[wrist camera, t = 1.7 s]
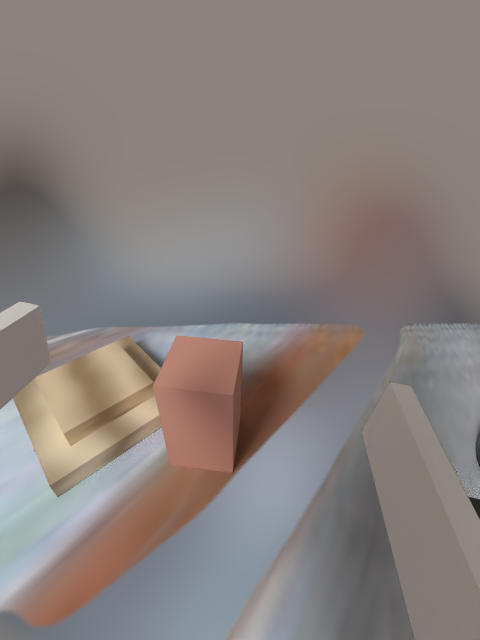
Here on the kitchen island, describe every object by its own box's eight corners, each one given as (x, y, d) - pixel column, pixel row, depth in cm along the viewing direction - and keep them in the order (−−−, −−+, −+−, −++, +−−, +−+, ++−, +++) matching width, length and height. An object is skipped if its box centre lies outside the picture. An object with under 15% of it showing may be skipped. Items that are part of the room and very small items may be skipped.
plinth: (131, 347, 42) (125, 324, 40) (190, 407, 34) (187, 383, 32) (17, 401, 34) (1, 376, 32) (57, 497, 26) (40, 473, 24)
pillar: (240, 418, 33) (242, 341, 26) (232, 472, 28) (233, 394, 22) (187, 412, 34) (176, 335, 27) (170, 464, 29) (152, 386, 22)
